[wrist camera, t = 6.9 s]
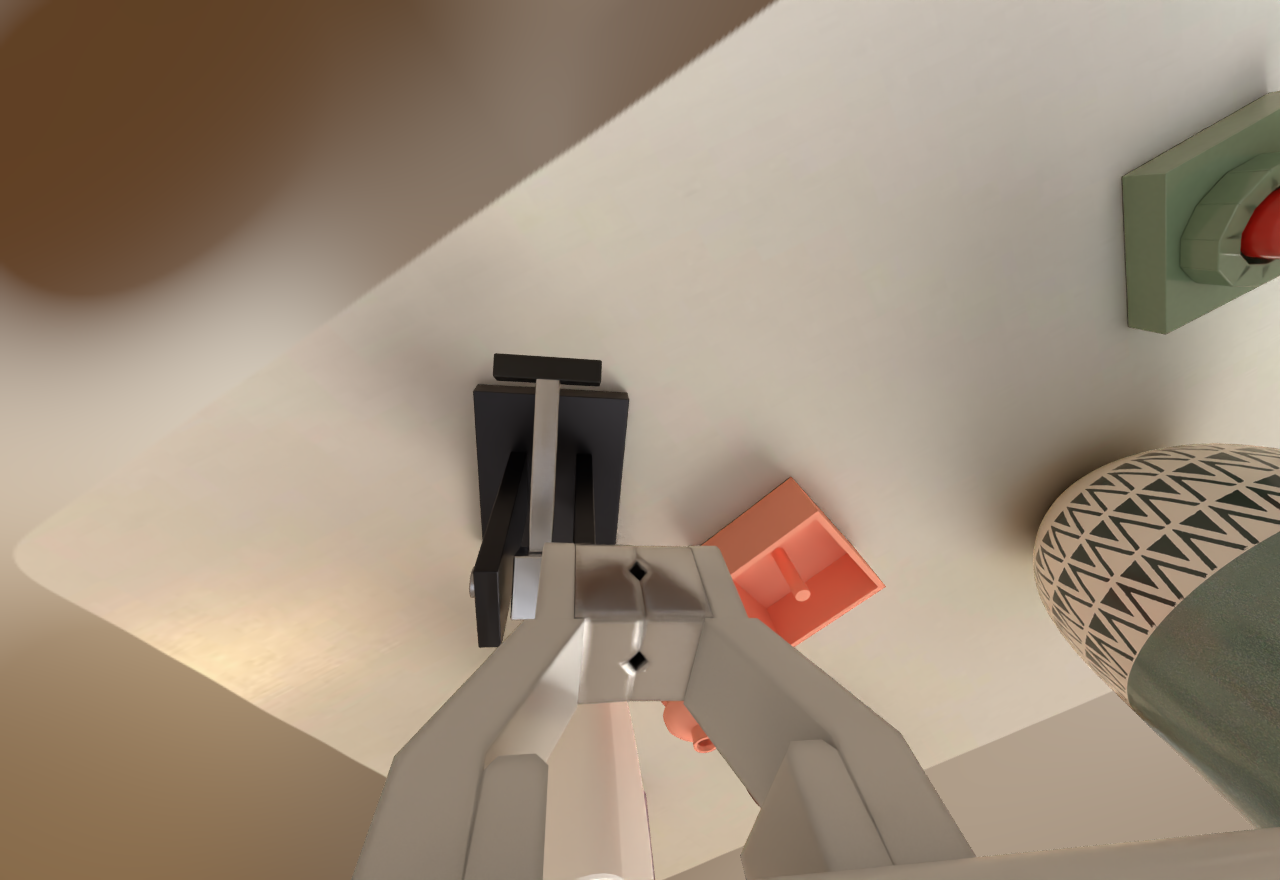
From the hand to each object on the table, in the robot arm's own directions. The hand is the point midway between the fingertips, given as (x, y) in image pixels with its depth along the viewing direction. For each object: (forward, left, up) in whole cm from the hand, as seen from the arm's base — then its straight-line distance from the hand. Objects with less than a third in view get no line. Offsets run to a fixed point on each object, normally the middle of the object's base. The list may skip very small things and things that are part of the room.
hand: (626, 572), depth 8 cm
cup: (+14, -27, -21) cm, 37 cm away
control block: (+27, +24, -20) cm, 42 cm away
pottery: (+19, -12, -21) cm, 31 cm away
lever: (+1, -7, -14) cm, 15 cm away
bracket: (+2, -10, -20) cm, 23 cm away
